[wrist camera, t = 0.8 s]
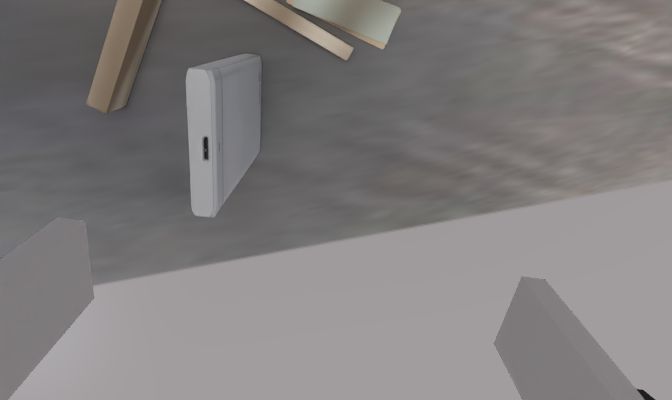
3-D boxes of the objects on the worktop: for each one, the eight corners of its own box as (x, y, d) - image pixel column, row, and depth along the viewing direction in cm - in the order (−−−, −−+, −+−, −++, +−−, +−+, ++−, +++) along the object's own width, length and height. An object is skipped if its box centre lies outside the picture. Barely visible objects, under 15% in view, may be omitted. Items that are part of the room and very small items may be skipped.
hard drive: (262, 54, 31) (217, 70, 20) (260, 155, 34) (220, 218, 23) (241, 52, 31) (183, 67, 20) (240, 153, 34) (191, 216, 23)
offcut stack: (286, 3, 30) (284, 2, 29) (302, -40, 29) (300, -43, 28) (381, 50, 31) (383, 51, 30) (400, 10, 30) (403, 9, 29)
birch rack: (107, 97, 33) (86, 103, 30) (161, -69, 28) (141, -79, 25) (279, 184, 35) (274, 197, 33) (353, 47, 31) (354, 49, 28)
